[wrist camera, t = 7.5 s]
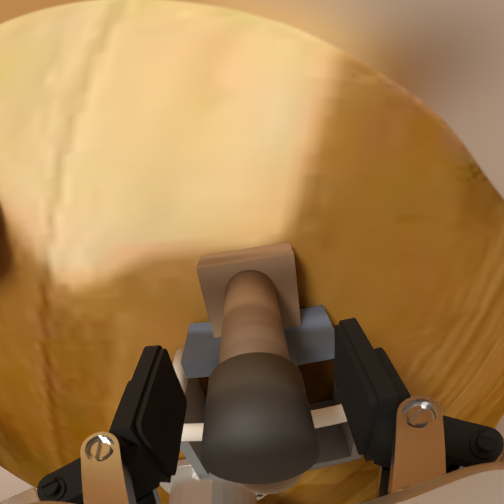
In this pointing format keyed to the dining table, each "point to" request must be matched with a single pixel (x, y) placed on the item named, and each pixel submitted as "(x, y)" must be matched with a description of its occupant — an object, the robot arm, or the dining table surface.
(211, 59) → the dining table surface
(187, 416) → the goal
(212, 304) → the striker
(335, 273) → the dining table surface
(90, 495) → the robot arm
